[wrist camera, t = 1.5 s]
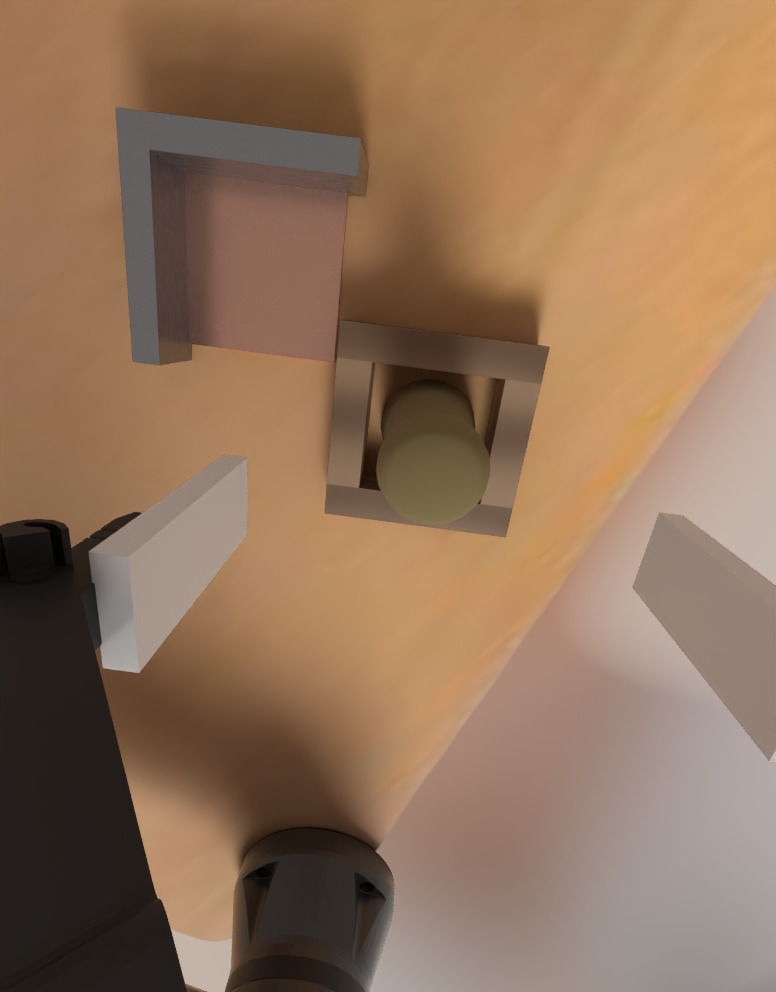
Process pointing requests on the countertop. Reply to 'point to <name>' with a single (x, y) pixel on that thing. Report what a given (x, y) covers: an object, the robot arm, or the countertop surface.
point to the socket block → (442, 352)
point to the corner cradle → (233, 234)
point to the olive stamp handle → (431, 454)
